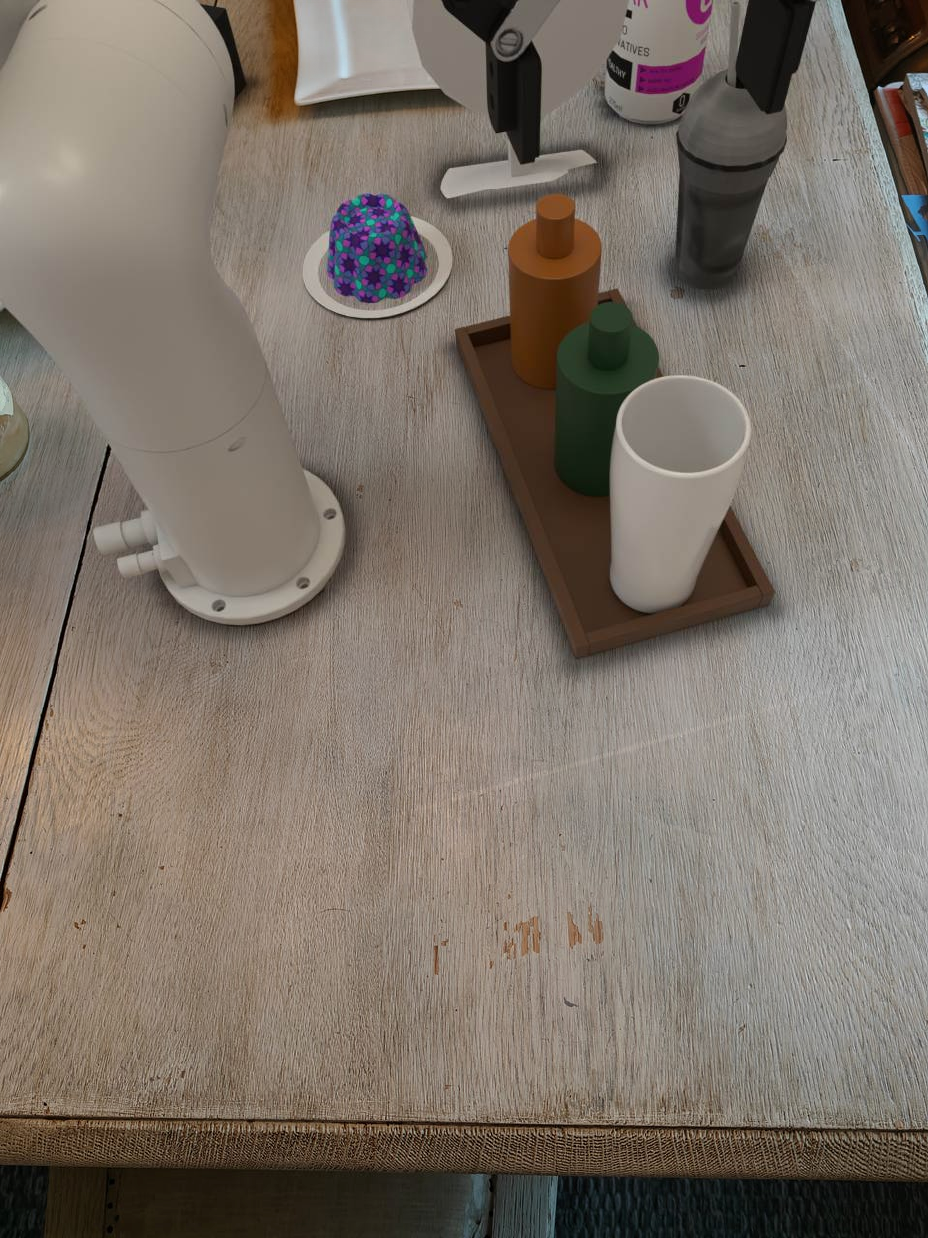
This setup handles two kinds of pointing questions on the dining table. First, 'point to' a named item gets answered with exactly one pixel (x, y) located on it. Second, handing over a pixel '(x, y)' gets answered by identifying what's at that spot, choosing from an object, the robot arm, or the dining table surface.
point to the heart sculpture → (569, 62)
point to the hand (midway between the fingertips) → (639, 117)
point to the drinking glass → (671, 485)
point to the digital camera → (227, 43)
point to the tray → (588, 513)
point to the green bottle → (597, 392)
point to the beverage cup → (722, 172)
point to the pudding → (375, 256)
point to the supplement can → (658, 59)
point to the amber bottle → (550, 286)
